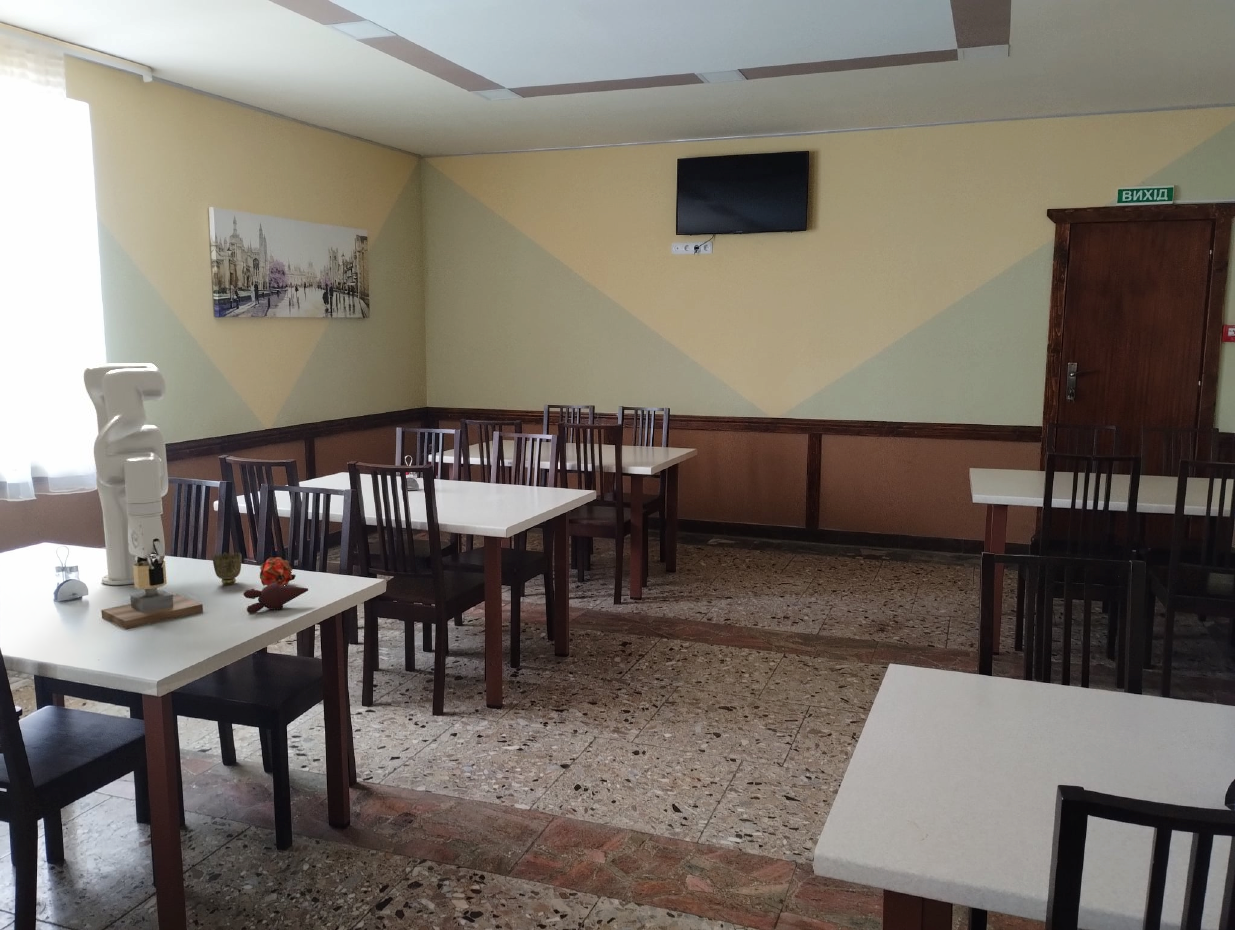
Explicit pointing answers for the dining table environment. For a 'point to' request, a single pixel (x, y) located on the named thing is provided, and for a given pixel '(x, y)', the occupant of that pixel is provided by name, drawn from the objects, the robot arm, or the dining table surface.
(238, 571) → the cup
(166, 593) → the shaft stand
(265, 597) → the icecream
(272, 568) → the dragon fruit
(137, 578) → the hub
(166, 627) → the dining table surface
